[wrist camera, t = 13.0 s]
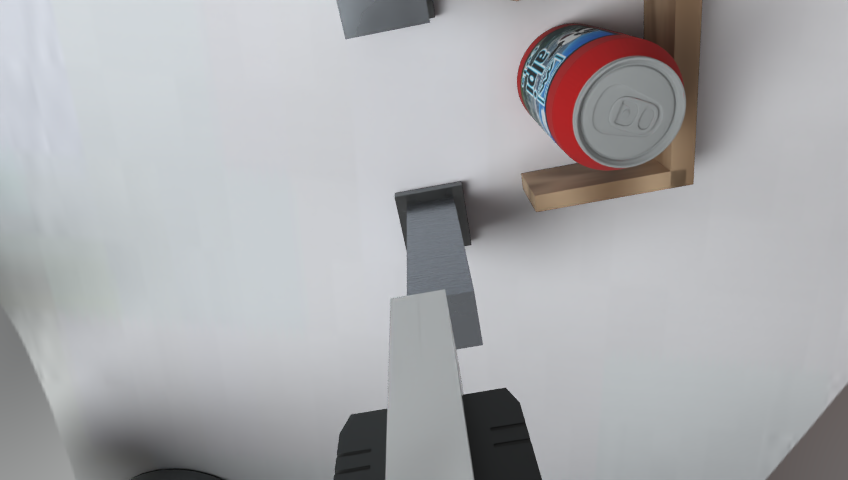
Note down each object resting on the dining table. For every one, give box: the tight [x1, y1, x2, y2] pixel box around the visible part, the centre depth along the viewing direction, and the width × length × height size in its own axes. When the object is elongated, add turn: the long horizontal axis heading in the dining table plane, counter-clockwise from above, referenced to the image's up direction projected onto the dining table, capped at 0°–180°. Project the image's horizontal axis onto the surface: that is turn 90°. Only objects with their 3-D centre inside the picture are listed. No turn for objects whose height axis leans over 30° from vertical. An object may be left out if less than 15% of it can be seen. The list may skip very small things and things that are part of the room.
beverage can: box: [517, 24, 686, 171], centre depth 31 cm, size 7×7×12 cm
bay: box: [513, 0, 702, 212], centre depth 34 cm, size 10×14×4 cm
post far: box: [395, 181, 483, 349], centre depth 34 cm, size 5×5×14 cm
